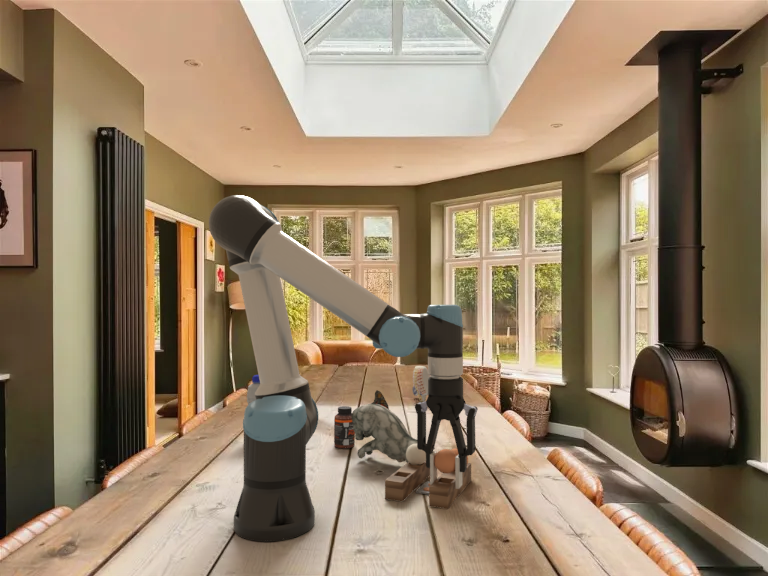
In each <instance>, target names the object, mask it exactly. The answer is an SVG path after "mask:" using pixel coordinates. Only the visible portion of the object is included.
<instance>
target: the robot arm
mask: <svg viewBox="0 0 768 576" xmlns="http://www.w3.org/2000/svg"><path fill="white" fill-rule="evenodd" d="M209 214H210V215H209V218H208V227H209V228H208V229H209V232H210V235H211V237H212V239H213V240H214V241H215V243H216V244H217V245H218V246H219V247H221V248H222V249H223V250H225V252H226V257H227V261H228V267H229V269H230V271H232V272H234V273H235V274H236V275H237V276H238V279H239V284H240V289H241V295H242V298H243V299H242V300H243V304H244V309H245V315H246V319H247V325H248V329H249V335H250V339H251V344H252V350H253V355H254V359H255V363H256V368H257V373H258V374H257V375H259V380H260V386H259V387H258V389H257V390H256V392H255V397H256V400H254V401H253V402H251V403H250V404H249V405H248V404H247V406H246V407H245V410H244V412H243V413H244V415H243V420H242V430H243V488H242V490H241V492H240V493H241V494H240V496H239V498H238V502H237V505H236V508H235V512H234V515H233V531H234V532H235V534H236V535H238V536H239V537H241V538H242V539H246V540H250V541H254V542H277V541H278V542H279V541H284V540H289V539H293V538H296V537H299V536H301V535H304V534H306V533H307V532H309V531H310V530H311V529H312V528H313V527H314V526H315V521H316V520H315V519H316V518H315V517H316V515H315V514H316V512H315V511H316V510H315V507H314V505H313V502H312V498H311V495H310V491H309V488H308V485H307V481H306V474H307V473H306V468H307V467H306V464H307V463H306V462H307V461H306V460H307V459H306V458H307V457H306V454H307V453H306V451H307V445H308V443H309V441H310V440H311V438H312V437H313V436H314V433H315V432H316V430H317V427H318V424H319V410H318V406H317V404H316V401H315V400H314V398H313V397H312V394H311V389H310V384H309V381H308V379H306V378H305V377H304V376H302V375H301V374H300V371H299V370H300V369H299V365H298V359H297V355H296V350H295V346H294V345H295V344H294V340H293V334H292V330H291V325H290V320H289V316H288V310H287V305H286V300H285V296H284V295H285V294H284V291H283V290H284V289H283V286H282V281H281V279H282V280H283V281H285V282H287V283H288V284H289V285H291V286H292V287H294V288H295V289H296V290H298V291H299V292H301V293H303V294H304V295H305V296H307V297H308V298H309V299H312V300H313V301H314V302H316V304H319V305H320V306H322V307H323V308H325V309H326V310H327V311H328V312H330V313H332V314H333V315H335V316H336V317H338V318H339V319H341V320H342V321H343V322H345V324H346V323H347V324H348V325H349V326H351V327H352V328H354V329H355V330H357V331H358V332H359V333H361V334H362V335H364V336H365V337H367V338H368V339H370V340H371V341H372V346H373V347H374V348H375V349H377V350H378V349H381V350H383V351H384V352H385V353H386V354H388V355H390V356H392V357H394V358H403V357H407V356H409V355H411V354H412V353H414V352H415V351H416V350H417V349H421V350H422V349H423V350H424V349H427V369H428V374H429V375H430V377H429V378H428V395H427V396H428V397H426V400H425V401H424V402H420V401H419V402H418V403H416V404H415V405H414V410H415V413H416V415H417V417H416V419H417V421H416V422H417V425H416V427H417V428H416V430H417V431H416V434H417V436H416V440H417V448H418V449H419V450H423V451H425V453H426V467H427V468H430V476H429V482H430V485H431V484H432V483H433V482H434V481H435V480H436V479H437V478H438V469H437V468H436V466H435V456H436V454H437V453H438V451H436V450H435V449H436V448H435V446H436V441H437V437H438V433H439V428H440V425H441V422H442V421H443V420H445V421H447V422H449V423H450V426H451V429H452V434H453V437H454V441H455V444H456V448H457V450H458V455H457V456H456V457H455V480H456V489H459V488H460V487H461V486H462V472H465V471H466V469H467V456H468V457H469V456H472V455H473V454H474V453H475V452H476V415H477V412H478V407H477V406H474V405H473V406H472V405H470V404H467V403H466V401H465V399H464V378H463V377H462V376H463V374H464V355H463V353H464V351H463V350H464V347H463V346H464V345H463V344H464V341H463V339H464V338H463V337H464V330H463V329H464V324H463V314H462V313H463V311H462V307H461V306H460V305H458V304H429V305H428V306H427V311H426V312H425V313H420V314H419V313H402V312H401V311H399V310H398V309H396V308H394V307H393V306H392V305H390V304H389V303H388V302H386V301H385V300H383V299H381V298H380V297H379V296H377V295H376V294H374V293H372V292H371V291H370V290H369V289H367V288H365V287H364V286H362V284H359V283H358V282H357V281H355V280H354V279H352V278H351V277H349V276H348V275H346V274H345V273H344V272H342V271H341V270H339V269H337V268H336V267H335V266H333V265H332V264H330V263H329V262H327V261H326V260H324V259H323V258H322V257H321V256H319V255H317V254H316V253H314V252H313V251H311V250H310V249H308V248H307V247H306V246H304V245H303V244H301V243H299V241H297V240H295V239H294V238H293V237H291V236H289V235H288V234H287V233H285V232H283V229H282V224H281V223H280V221H279V220H278V218H277V216H276V215H275V214H274V212H273V211H272V210H271V209H269V208H268V207H266V206H264V205H262V204H260V203H259V202H258V201H257V200H255V199H253V198H251V197H249V196H245V195H240V194H239V195H238V194H235V195H230V196H229V195H228V196H226V197H224V198H222V199H221V200H219V201H218V202H217V203H216V204H215V205H214V207H213V208H212V210H211V212H210V213H209ZM428 410H429V411H430V412H431V414H432V418H431V424H430V428H429V432H428V438H427V411H428ZM462 411H464V415H465V416H466V441H465V438H464V437H465V436H464V432H463V428H462V424H461V418H460V415H461V412H462Z"/></svg>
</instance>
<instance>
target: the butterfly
mask: <svg viewBox="0 0 768 576" xmlns="http://www.w3.org/2000/svg"><path fill="white" fill-rule="evenodd" d="M370 404H379V405H382V406H384V407H386V408H387V409H389V410H390V407H389V405H388V402H387V400H386V398H385V397H384V395H383V393H382V392H381V391H380V390H375V392H374V399H373V402H371V403H370Z"/></svg>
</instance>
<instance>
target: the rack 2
mask: <svg viewBox="0 0 768 576" xmlns="http://www.w3.org/2000/svg"><path fill="white" fill-rule="evenodd" d="M471 482H472V462H468V464H467V469H466V471H465V472H462V486H461V487H460V488H459V489H456V480H455V470H454V471H453V472H451V473H442V474H440V475H439V477H438V476H437V479H436V480H435V481H434V482H433V483H432V484H431V485H430V486H429V495H428V497H429V498H428V499H429V501H428V506H429V507H434V508H439V509H444V510H448V509H449V508H450V507H451V506H452V504H454V503H455V501H456V500H457V499H458V497H460V495H461V493H463V491H465V489H466V487H467V486H468V485H469V484H470V483H471Z"/></svg>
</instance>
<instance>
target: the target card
mask: <svg viewBox="0 0 768 576" xmlns="http://www.w3.org/2000/svg"><path fill="white" fill-rule="evenodd" d="M429 486H430V480H429V481H427V480H425V481H424V482H423V483H422V484H421V485H420V486H419V487H417V488H416V489H415V494H421V495H427V496H429Z"/></svg>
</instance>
